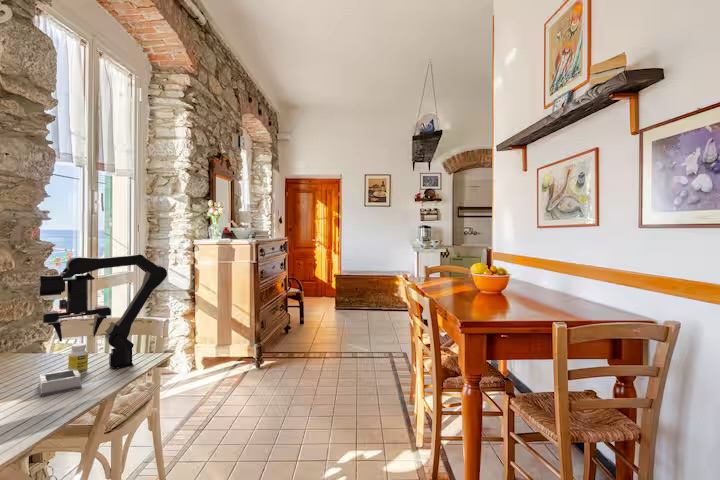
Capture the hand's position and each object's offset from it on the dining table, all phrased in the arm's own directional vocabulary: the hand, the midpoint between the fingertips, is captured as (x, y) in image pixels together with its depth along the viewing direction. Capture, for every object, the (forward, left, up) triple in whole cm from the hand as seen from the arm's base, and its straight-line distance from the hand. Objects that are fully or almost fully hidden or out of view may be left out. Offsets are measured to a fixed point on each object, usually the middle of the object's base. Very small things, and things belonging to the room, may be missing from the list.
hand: (77, 338), depth 133 cm
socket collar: (+6, +12, -12) cm, 18 cm away
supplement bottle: (0, 0, -12) cm, 12 cm away
